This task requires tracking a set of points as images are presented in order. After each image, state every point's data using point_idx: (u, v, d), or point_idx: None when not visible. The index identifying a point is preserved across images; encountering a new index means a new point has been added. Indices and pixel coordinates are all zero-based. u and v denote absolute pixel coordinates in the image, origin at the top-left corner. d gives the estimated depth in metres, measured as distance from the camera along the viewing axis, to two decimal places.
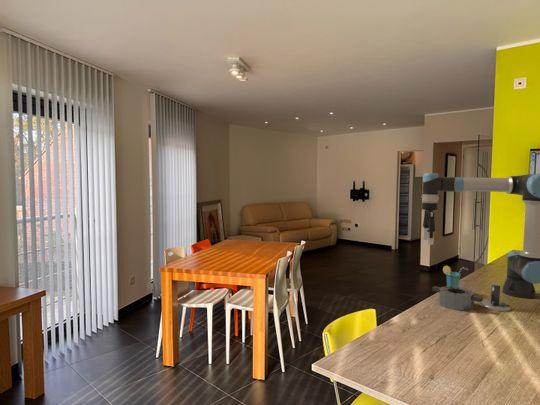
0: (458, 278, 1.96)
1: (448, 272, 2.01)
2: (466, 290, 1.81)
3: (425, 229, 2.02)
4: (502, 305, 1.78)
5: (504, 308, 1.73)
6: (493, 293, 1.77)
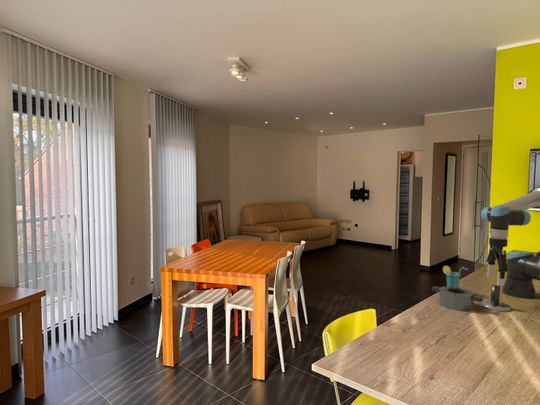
0: (458, 278, 1.96)
1: (448, 272, 2.01)
2: (466, 290, 1.81)
3: (490, 266, 1.83)
4: (502, 305, 1.78)
5: (504, 308, 1.73)
6: (493, 293, 1.77)
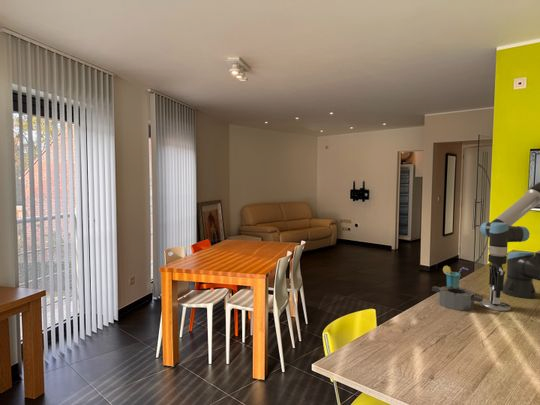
0: (458, 278, 1.96)
1: (448, 272, 2.01)
2: (466, 290, 1.81)
3: None
4: (502, 304, 1.78)
5: (505, 308, 1.73)
6: (493, 293, 1.77)
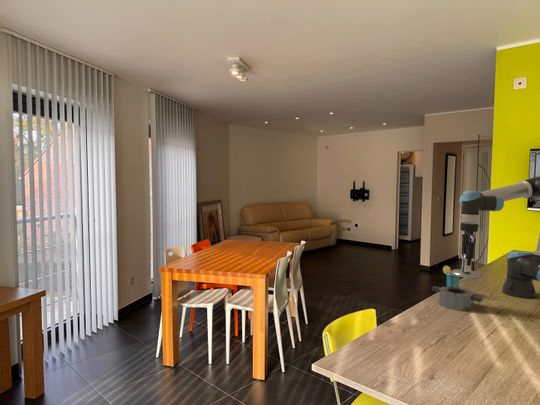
0: (458, 278, 1.96)
1: (448, 272, 2.01)
2: (466, 290, 1.81)
3: None
4: (473, 273, 1.78)
5: (475, 275, 1.73)
6: (464, 261, 1.77)
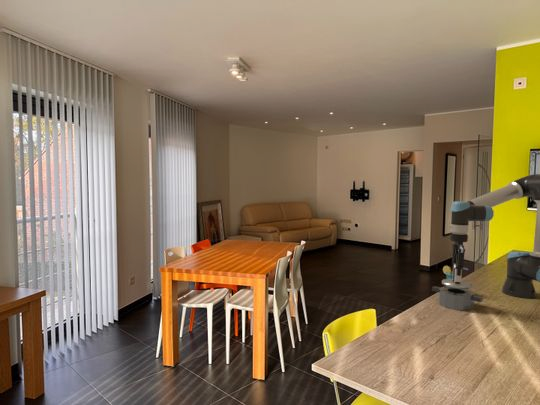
0: None
1: (448, 272, 2.01)
2: (466, 290, 1.81)
3: None
4: (463, 282, 1.79)
5: (465, 285, 1.74)
6: None
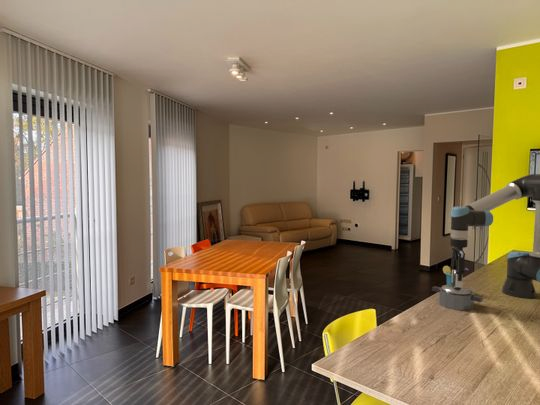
0: None
1: (448, 272, 2.01)
2: None
3: None
4: (463, 289, 1.79)
5: (465, 291, 1.74)
6: (455, 277, 1.78)
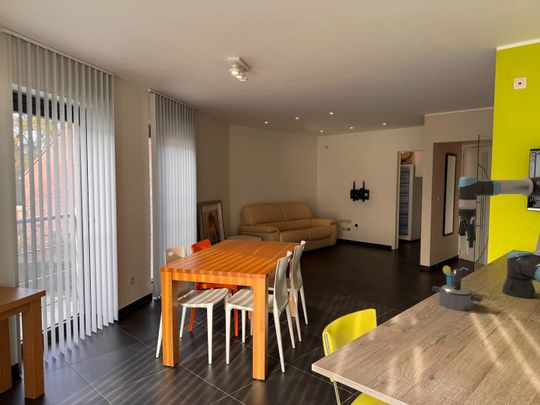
0: None
1: (448, 272, 2.01)
2: None
3: (461, 237, 1.86)
4: (463, 289, 1.79)
5: (465, 291, 1.74)
6: (455, 277, 1.78)
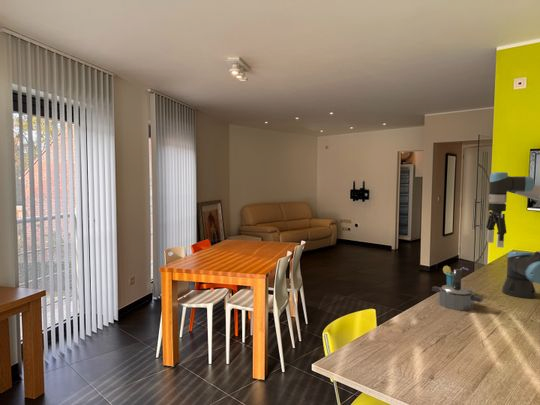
0: None
1: (448, 272, 2.01)
2: None
3: (490, 231, 1.92)
4: (463, 289, 1.79)
5: (465, 291, 1.74)
6: (455, 277, 1.78)
